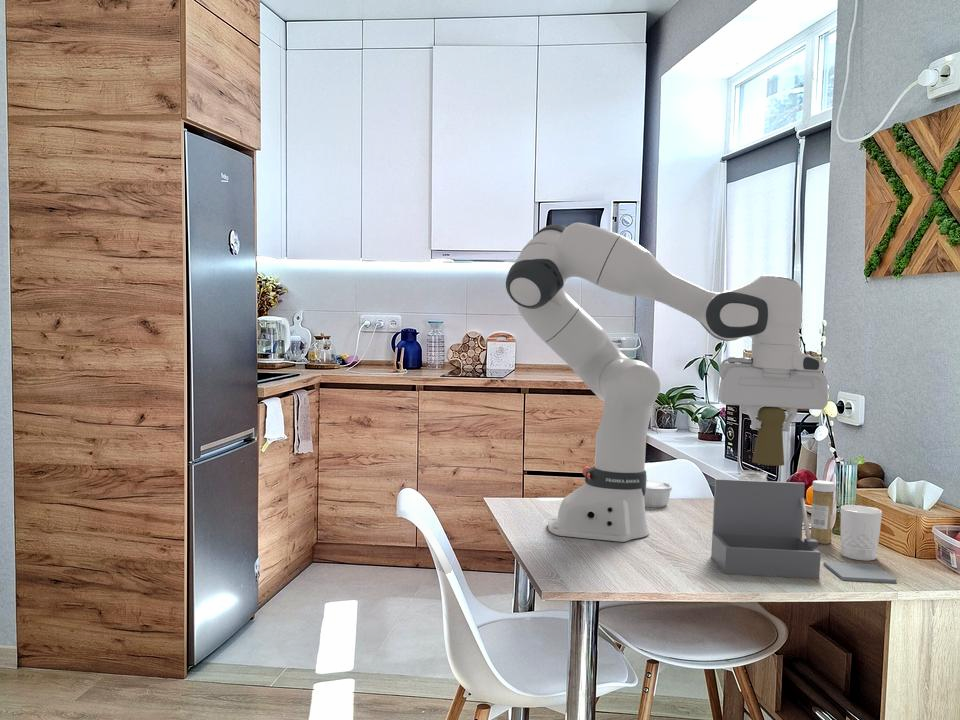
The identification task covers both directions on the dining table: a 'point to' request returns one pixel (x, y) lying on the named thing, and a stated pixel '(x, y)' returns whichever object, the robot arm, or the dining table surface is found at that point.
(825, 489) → the sprinkles bottle
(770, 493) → the case
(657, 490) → the ramekin
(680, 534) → the dining table surface
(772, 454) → the cork
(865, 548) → the white cup
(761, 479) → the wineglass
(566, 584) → the dining table surface
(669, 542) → the dining table surface
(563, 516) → the robot arm
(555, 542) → the dining table surface
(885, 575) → the mat
